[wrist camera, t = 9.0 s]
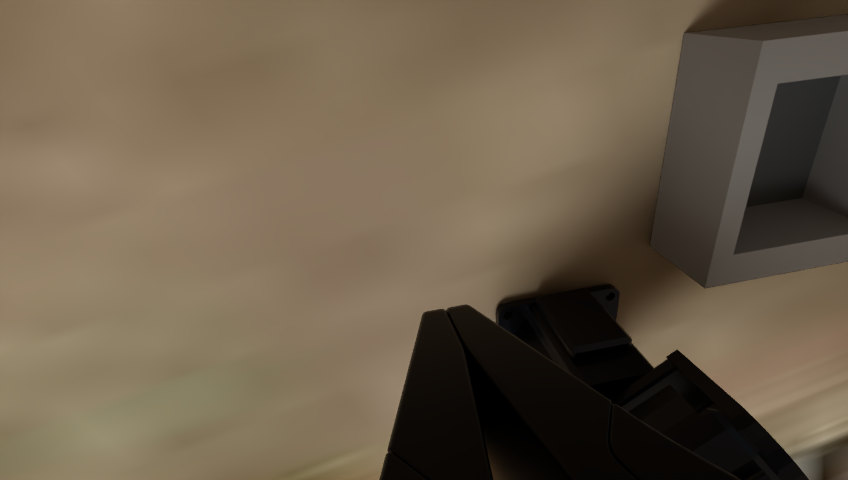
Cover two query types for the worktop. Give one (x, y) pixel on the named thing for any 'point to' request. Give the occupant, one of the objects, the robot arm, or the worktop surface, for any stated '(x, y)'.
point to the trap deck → (757, 152)
